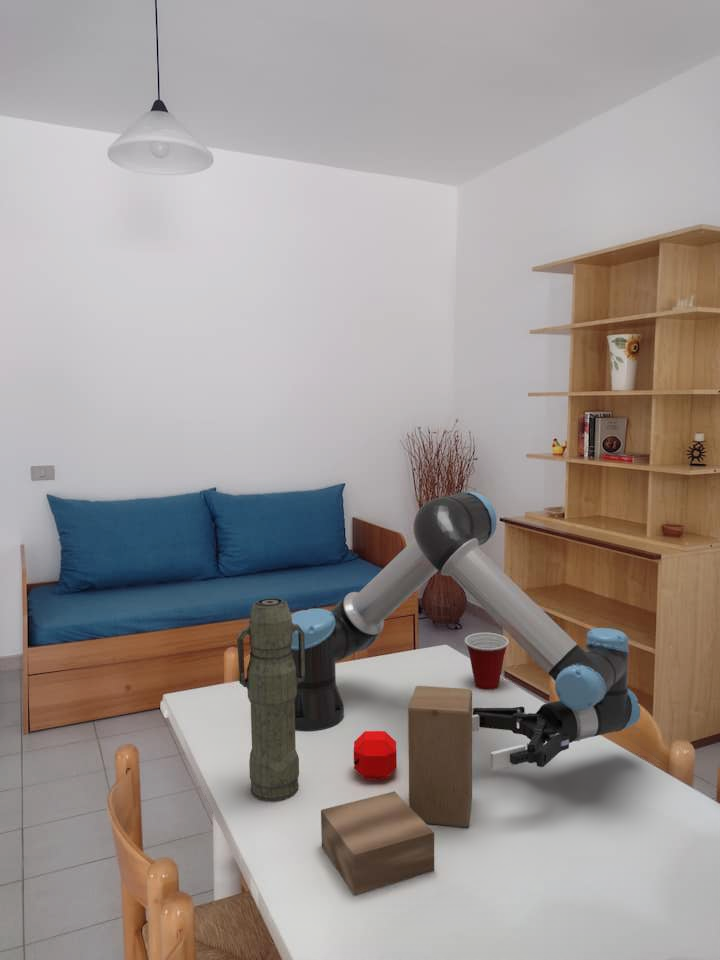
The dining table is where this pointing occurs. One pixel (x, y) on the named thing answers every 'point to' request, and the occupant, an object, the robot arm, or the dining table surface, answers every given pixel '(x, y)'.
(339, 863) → the walnut pedestal block
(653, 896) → the dining table surface
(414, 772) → the wooden block
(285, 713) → the thermos
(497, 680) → the plastic cup
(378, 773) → the ball
